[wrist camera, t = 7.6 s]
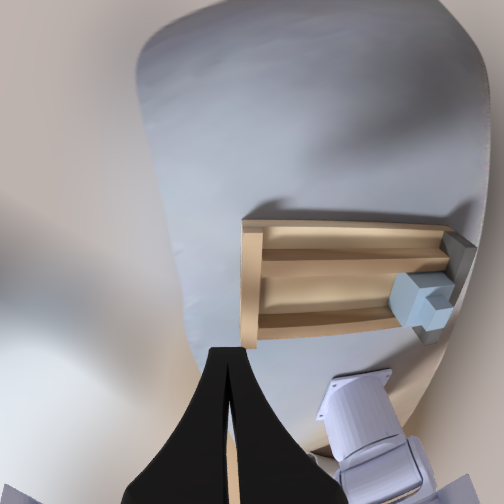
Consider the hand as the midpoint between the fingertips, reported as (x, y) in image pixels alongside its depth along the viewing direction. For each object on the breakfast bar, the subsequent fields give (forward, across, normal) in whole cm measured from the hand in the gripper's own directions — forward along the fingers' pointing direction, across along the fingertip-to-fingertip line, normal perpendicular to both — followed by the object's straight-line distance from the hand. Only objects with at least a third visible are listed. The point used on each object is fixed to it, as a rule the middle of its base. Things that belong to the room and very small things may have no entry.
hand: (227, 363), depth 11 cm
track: (+10, -10, +3) cm, 15 cm away
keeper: (+9, -15, +3) cm, 18 cm away
